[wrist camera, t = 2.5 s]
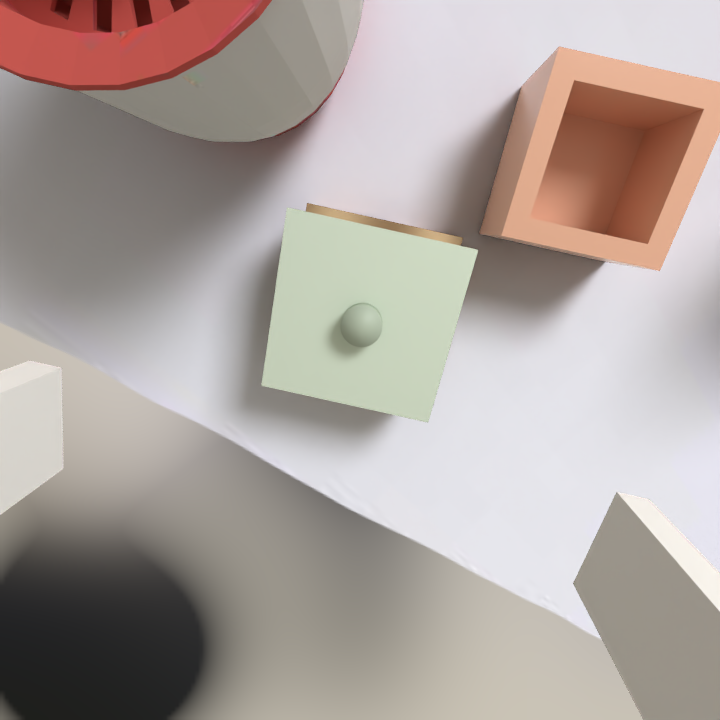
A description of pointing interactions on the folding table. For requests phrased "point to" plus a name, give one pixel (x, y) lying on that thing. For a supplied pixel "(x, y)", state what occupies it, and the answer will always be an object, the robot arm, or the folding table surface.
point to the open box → (603, 158)
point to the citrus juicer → (188, 58)
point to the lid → (364, 314)
